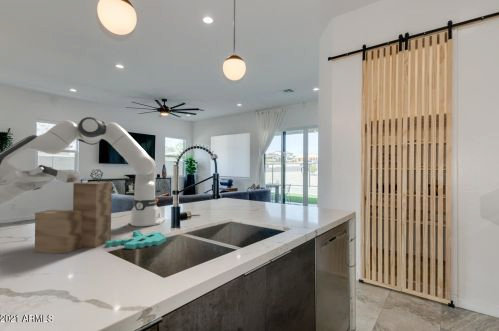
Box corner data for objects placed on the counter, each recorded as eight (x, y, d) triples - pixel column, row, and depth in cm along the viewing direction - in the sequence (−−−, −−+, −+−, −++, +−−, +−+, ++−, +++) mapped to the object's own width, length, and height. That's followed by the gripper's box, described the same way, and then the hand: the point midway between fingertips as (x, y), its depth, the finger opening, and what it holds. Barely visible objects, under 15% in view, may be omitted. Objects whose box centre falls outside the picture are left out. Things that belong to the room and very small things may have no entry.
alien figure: (105, 247, 107) (149, 251, 103) (105, 242, 107) (149, 245, 103) (135, 235, 127) (173, 238, 123) (135, 230, 127) (173, 233, 123)
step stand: (71, 239, 117) (71, 181, 117) (110, 240, 116) (111, 182, 116) (34, 252, 99) (35, 184, 100) (80, 254, 98) (81, 185, 98)
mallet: (46, 170, 116) (48, 162, 116) (79, 181, 114) (81, 173, 114) (31, 171, 109) (34, 162, 109) (66, 182, 107) (68, 173, 107)
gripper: (-9, 178, 103) (19, 161, 102) (38, 176, 123) (62, 162, 122) (-2, 192, 103) (26, 175, 101) (44, 188, 123) (68, 174, 122)
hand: (46, 168), depth 112 cm, fingers closed on mallet, 3 cm apart
